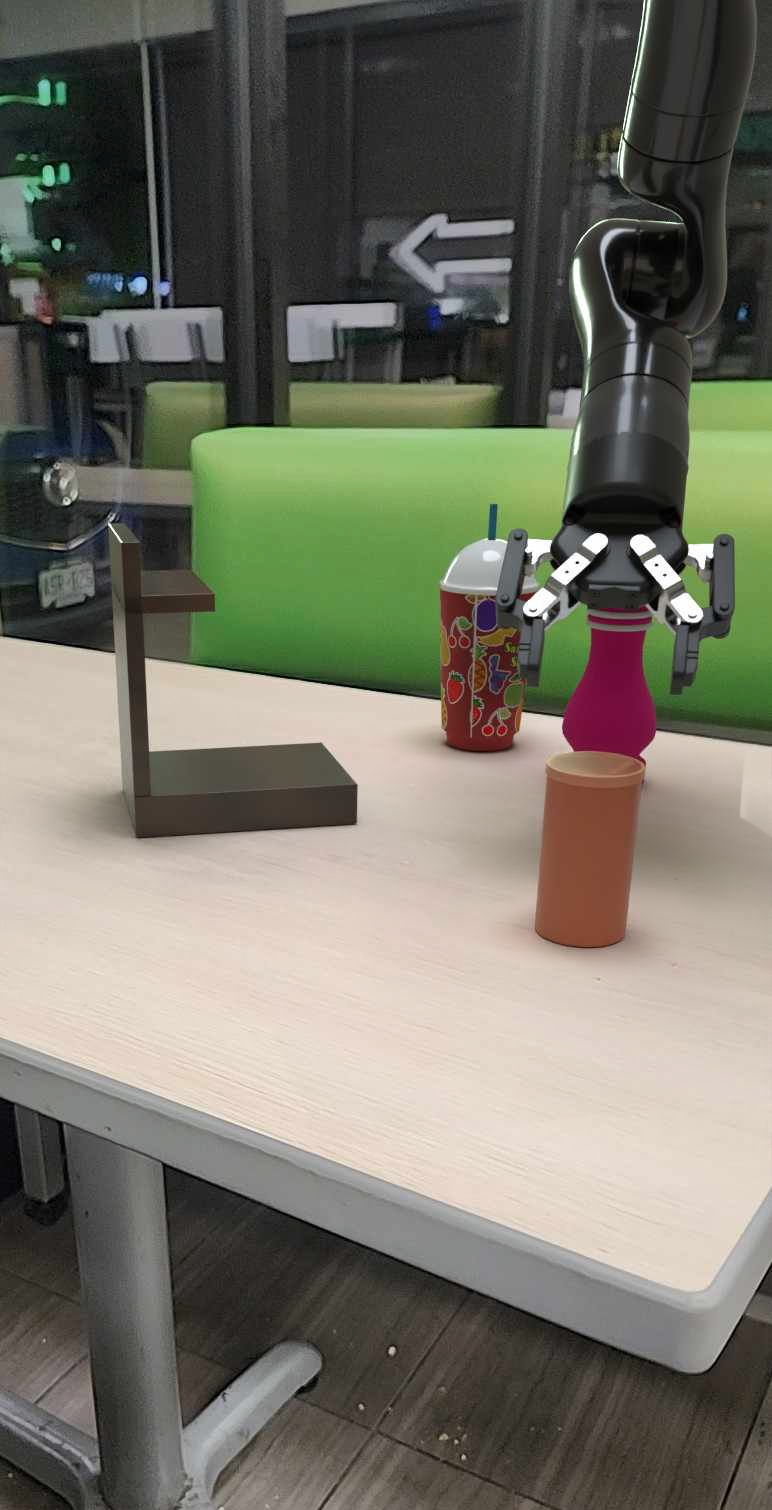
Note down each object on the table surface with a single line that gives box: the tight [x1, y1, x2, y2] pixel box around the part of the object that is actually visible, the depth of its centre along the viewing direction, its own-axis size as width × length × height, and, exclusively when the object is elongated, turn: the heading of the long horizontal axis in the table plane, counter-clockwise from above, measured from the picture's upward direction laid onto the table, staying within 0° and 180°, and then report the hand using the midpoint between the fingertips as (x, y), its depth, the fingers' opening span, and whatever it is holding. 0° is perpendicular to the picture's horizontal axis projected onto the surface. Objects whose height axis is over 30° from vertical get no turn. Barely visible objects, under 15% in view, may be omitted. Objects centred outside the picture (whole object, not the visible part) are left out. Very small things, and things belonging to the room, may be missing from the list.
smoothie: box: [438, 503, 541, 752], centre depth 113 cm, size 8×8×20 cm
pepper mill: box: [561, 606, 657, 785], centre depth 102 cm, size 7×7×20 cm
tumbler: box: [534, 751, 646, 948], centre depth 76 cm, size 5×5×10 cm
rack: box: [107, 522, 359, 839], centre depth 96 cm, size 16×12×20 cm
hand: (604, 684), depth 80 cm, fingers open, 8 cm apart
